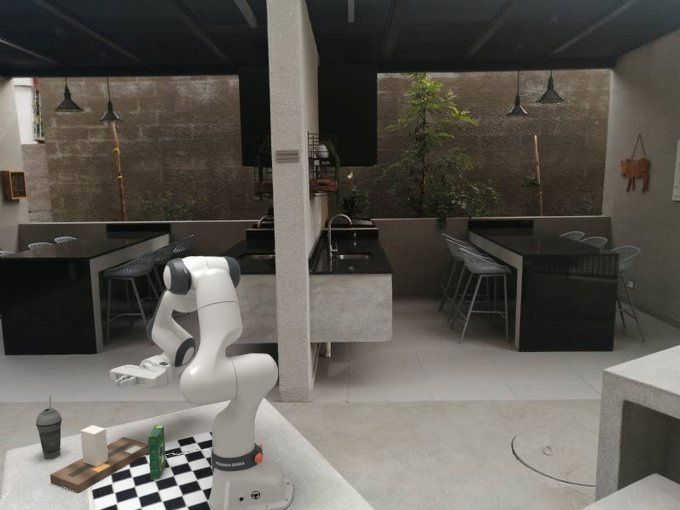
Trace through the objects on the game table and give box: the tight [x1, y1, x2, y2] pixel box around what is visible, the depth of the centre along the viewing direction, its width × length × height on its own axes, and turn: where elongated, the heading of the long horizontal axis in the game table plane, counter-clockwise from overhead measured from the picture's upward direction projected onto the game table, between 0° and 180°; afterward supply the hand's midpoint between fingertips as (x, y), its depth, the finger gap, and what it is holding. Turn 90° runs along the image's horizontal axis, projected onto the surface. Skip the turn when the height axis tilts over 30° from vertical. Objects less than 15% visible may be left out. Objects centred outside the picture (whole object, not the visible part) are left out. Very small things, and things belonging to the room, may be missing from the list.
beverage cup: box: [35, 395, 63, 461], centre depth 168 cm, size 7×7×20 cm
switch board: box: [49, 436, 149, 493], centre depth 162 cm, size 26×12×3 cm, turn 153°
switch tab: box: [80, 424, 108, 467], centre depth 159 cm, size 4×6×10 cm, turn 63°
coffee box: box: [147, 424, 167, 481], centre depth 158 cm, size 8×3×13 cm, turn 4°
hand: (118, 384), depth 166 cm, fingers closed
